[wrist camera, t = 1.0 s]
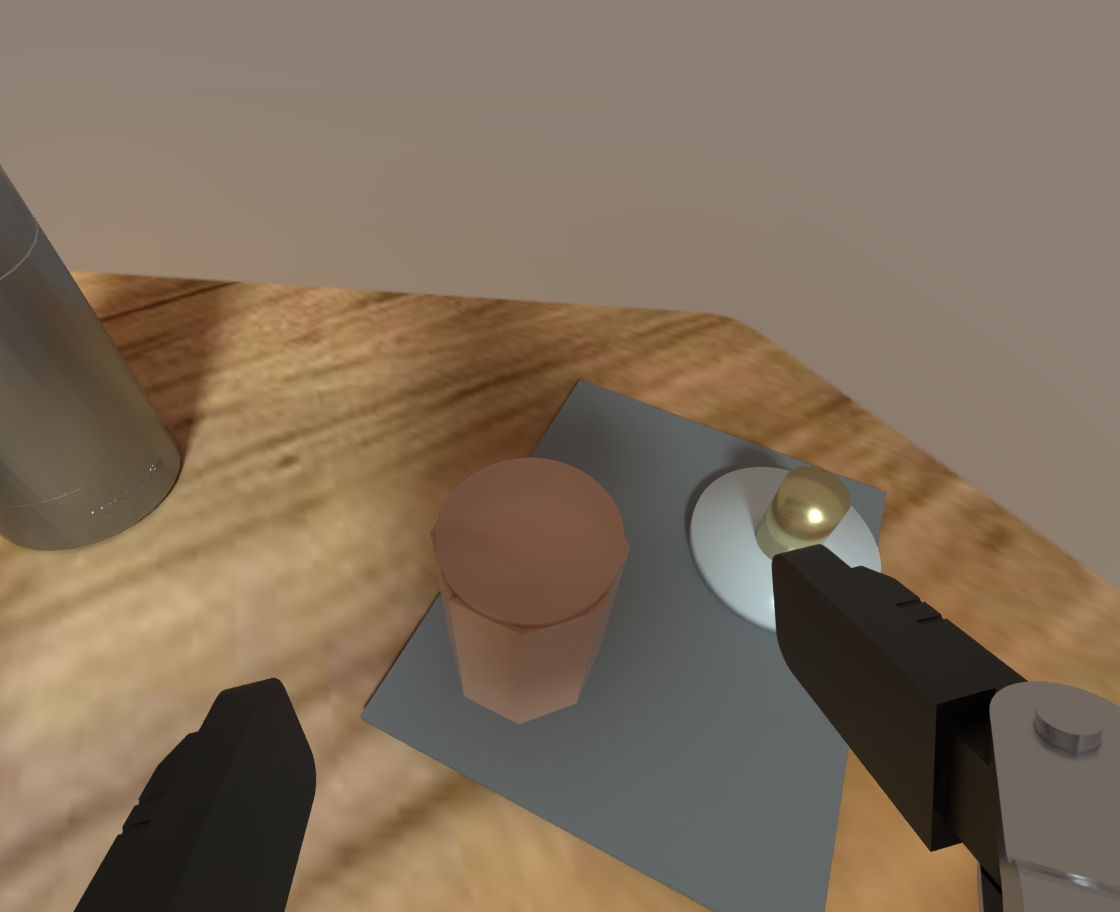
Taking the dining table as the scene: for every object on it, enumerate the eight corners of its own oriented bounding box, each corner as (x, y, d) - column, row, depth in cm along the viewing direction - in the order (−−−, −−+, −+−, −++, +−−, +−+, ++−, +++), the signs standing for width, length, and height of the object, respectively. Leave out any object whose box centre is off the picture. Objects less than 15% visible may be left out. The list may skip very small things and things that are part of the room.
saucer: (663, 586, 32) (667, 577, 31) (715, 454, 38) (720, 443, 37) (859, 671, 30) (868, 663, 29) (882, 517, 36) (890, 507, 35)
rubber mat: (362, 720, 27) (360, 715, 27) (579, 386, 42) (579, 379, 41) (810, 964, 23) (816, 964, 23) (881, 497, 37) (885, 492, 37)
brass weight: (749, 551, 32) (777, 503, 29) (762, 506, 34) (790, 456, 31) (809, 576, 32) (846, 530, 28) (820, 529, 34) (855, 480, 30)
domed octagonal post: (427, 677, 28) (396, 567, 20) (496, 563, 32) (493, 434, 24) (558, 744, 27) (579, 654, 19) (614, 616, 31) (650, 497, 23)
